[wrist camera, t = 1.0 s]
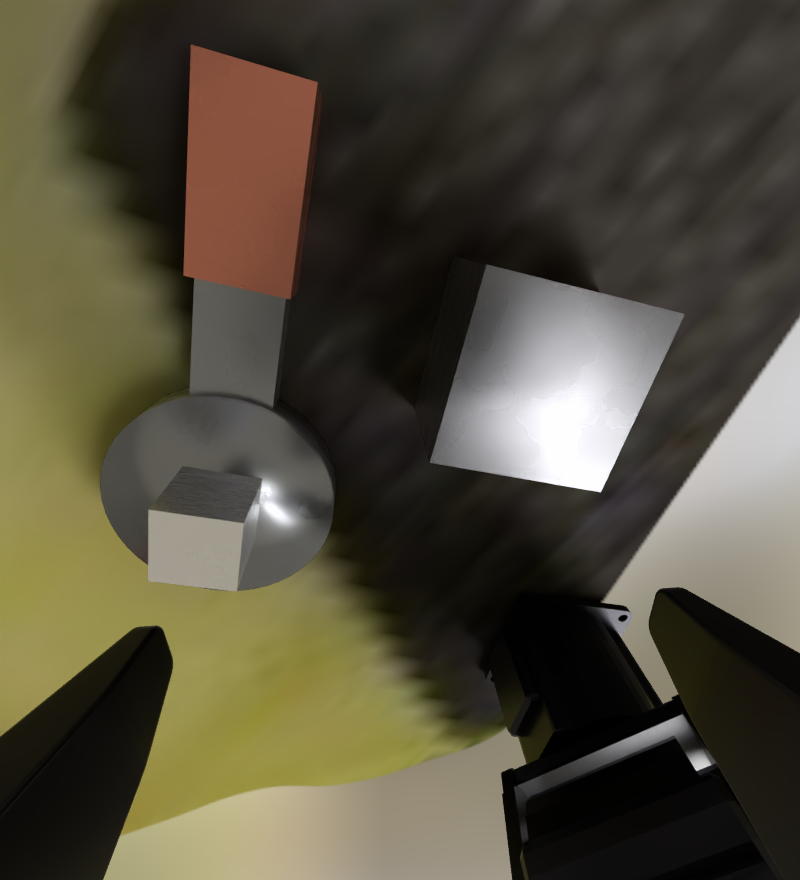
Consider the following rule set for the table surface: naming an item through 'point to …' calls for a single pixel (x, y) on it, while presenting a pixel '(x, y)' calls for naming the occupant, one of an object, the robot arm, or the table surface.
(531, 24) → the table surface
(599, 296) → the matte grey cube
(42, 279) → the table surface
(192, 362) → the ratchet
